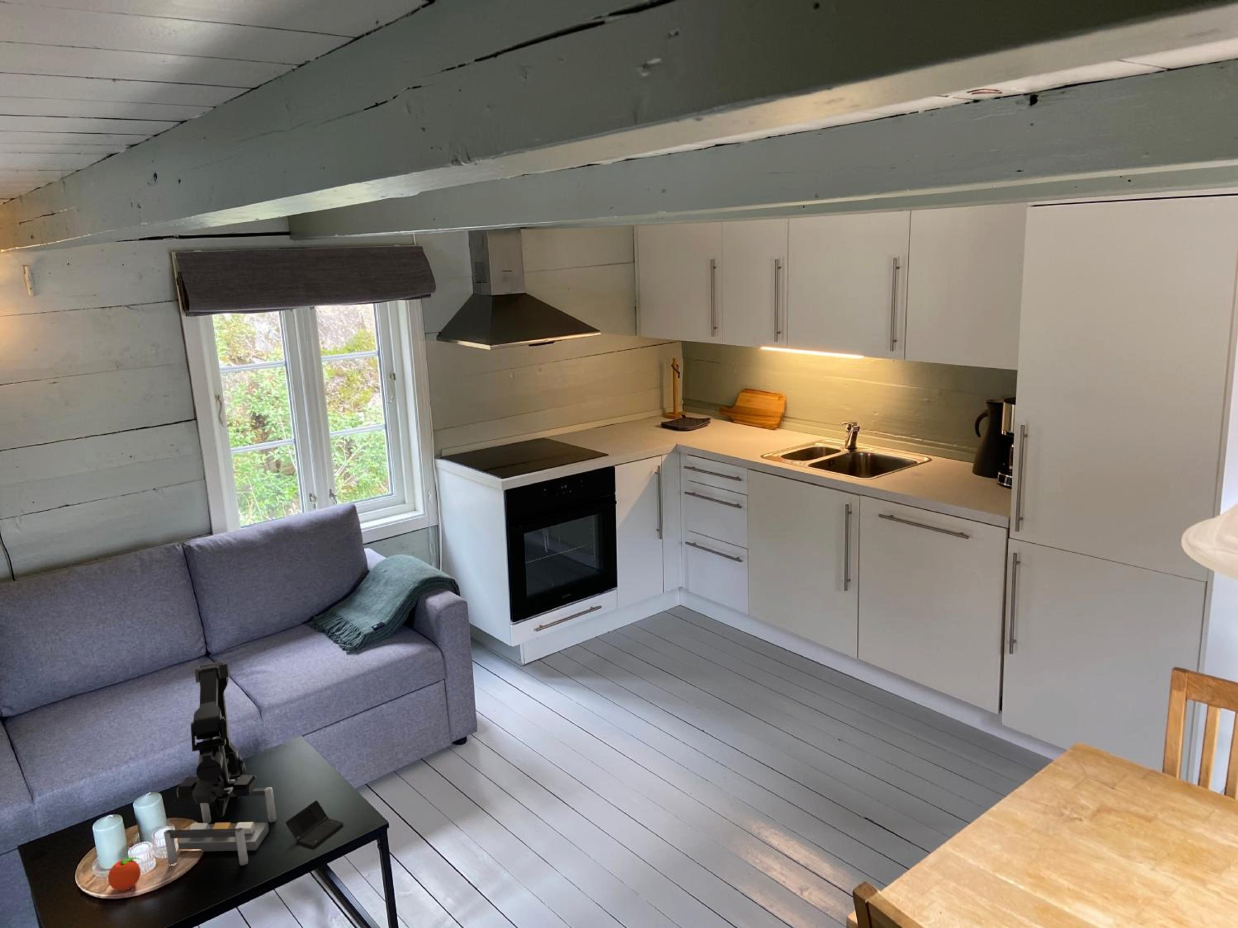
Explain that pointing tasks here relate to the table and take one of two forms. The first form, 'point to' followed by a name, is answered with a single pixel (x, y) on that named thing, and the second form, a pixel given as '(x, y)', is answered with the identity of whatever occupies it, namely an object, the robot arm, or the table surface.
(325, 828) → the handheld gaming console
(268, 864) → the table surface
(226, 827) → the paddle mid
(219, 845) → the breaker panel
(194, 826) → the paddle
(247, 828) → the paddle
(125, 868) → the clementine
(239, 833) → the frame
